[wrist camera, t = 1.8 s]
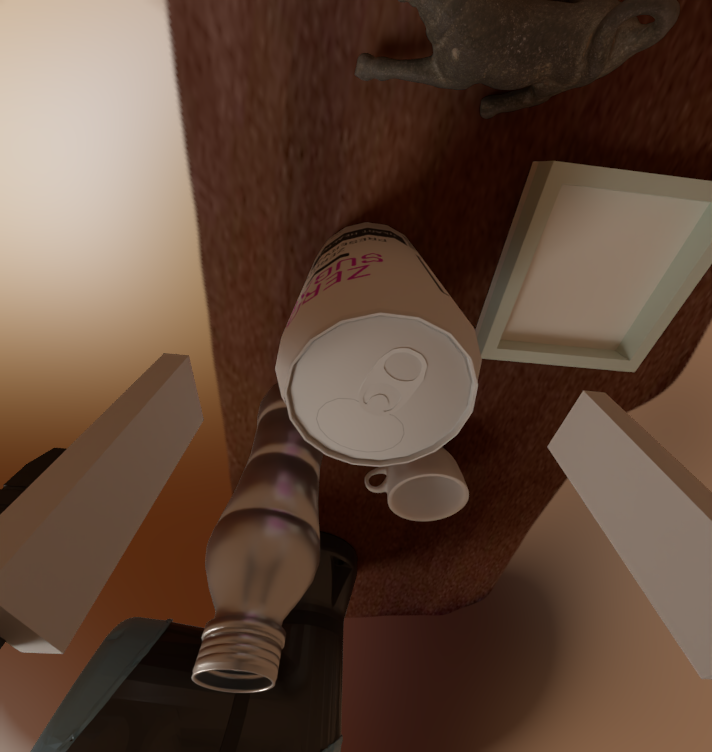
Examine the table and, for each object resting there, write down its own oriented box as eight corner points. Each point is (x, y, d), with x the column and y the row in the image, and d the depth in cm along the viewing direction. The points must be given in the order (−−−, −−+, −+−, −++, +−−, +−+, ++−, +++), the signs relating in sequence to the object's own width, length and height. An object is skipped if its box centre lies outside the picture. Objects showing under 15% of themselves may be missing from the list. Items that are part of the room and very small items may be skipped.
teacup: (460, 431, 33) (476, 472, 28) (448, 478, 37) (461, 521, 32) (364, 431, 33) (365, 473, 28) (363, 479, 37) (364, 522, 32)
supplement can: (386, 344, 27) (414, 495, 15) (297, 301, 25) (238, 436, 12) (442, 256, 23) (547, 362, 11) (341, 197, 21) (322, 241, 8)
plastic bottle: (310, 358, 28) (243, 644, 11) (346, 410, 31) (336, 691, 14) (252, 385, 29) (117, 670, 13) (292, 432, 33) (226, 707, 16)
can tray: (613, 356, 28) (634, 372, 26) (470, 343, 27) (480, 358, 25) (723, 185, 21) (765, 188, 18) (532, 161, 20) (553, 160, 18)
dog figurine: (603, -9, 16) (762, -119, 10) (547, 132, 19) (640, 116, 13) (372, -72, 15) (388, -244, 9) (353, 89, 18) (354, 49, 12)
